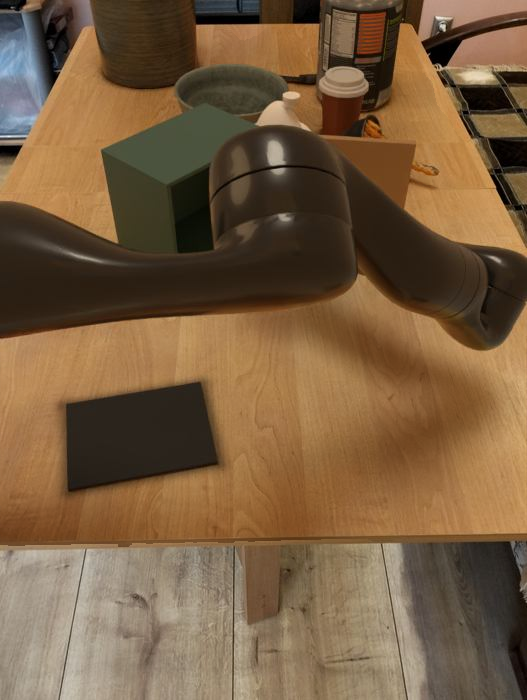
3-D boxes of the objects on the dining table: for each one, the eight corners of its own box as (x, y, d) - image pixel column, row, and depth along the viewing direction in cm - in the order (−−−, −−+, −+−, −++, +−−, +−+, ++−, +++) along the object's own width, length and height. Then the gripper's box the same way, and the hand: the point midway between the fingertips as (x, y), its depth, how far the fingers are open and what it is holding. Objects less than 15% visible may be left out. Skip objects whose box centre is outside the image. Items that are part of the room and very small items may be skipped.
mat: (68, 492, 68) (67, 489, 67) (66, 406, 76) (65, 403, 75) (218, 464, 70) (217, 461, 70) (200, 384, 78) (200, 381, 78)
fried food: (353, 117, 119) (449, 107, 109) (355, 179, 122) (449, 174, 112) (330, 116, 112) (431, 105, 102) (333, 182, 115) (431, 176, 105)
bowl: (250, 104, 133) (249, 55, 126) (308, 146, 121) (311, 93, 114) (160, 129, 125) (154, 77, 118) (212, 176, 113) (209, 122, 106)
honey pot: (324, 187, 111) (332, 82, 98) (301, 227, 102) (307, 118, 89) (254, 173, 114) (253, 70, 101) (226, 211, 105) (222, 104, 92)
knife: (212, 76, 146) (209, 83, 142) (212, 68, 145) (208, 75, 141) (336, 77, 144) (336, 85, 140) (336, 69, 143) (337, 76, 139)
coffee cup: (344, 152, 119) (350, 88, 111) (305, 137, 123) (309, 74, 115) (371, 135, 124) (380, 72, 116) (333, 121, 128) (339, 59, 120)
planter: (194, 90, 138) (187, -13, 124) (92, 89, 138) (72, -15, 124) (203, 51, 154) (198, -45, 139) (111, 50, 154) (96, -46, 140)
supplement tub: (349, 76, 144) (362, -57, 126) (404, 99, 136) (427, -40, 117) (299, 96, 136) (305, -43, 118) (354, 121, 128) (370, -23, 110)
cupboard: (269, 234, 101) (270, 130, 89) (179, 292, 91) (166, 184, 78) (211, 203, 107) (205, 102, 95) (120, 255, 97) (100, 149, 85)
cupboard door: (276, 215, 104) (279, 115, 92) (396, 224, 103) (414, 123, 91) (272, 237, 100) (274, 135, 88) (397, 246, 98) (416, 144, 86)
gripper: (396, 181, 74) (284, 135, 82) (319, 234, 66) (204, 177, 74) (386, 236, 79) (282, 187, 87) (314, 290, 71) (207, 231, 79)
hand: (247, 182), depth 81 cm, fingers closed on pill bottle, 5 cm apart
